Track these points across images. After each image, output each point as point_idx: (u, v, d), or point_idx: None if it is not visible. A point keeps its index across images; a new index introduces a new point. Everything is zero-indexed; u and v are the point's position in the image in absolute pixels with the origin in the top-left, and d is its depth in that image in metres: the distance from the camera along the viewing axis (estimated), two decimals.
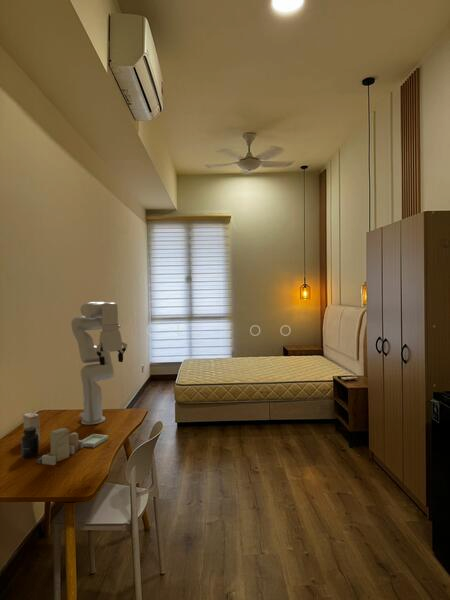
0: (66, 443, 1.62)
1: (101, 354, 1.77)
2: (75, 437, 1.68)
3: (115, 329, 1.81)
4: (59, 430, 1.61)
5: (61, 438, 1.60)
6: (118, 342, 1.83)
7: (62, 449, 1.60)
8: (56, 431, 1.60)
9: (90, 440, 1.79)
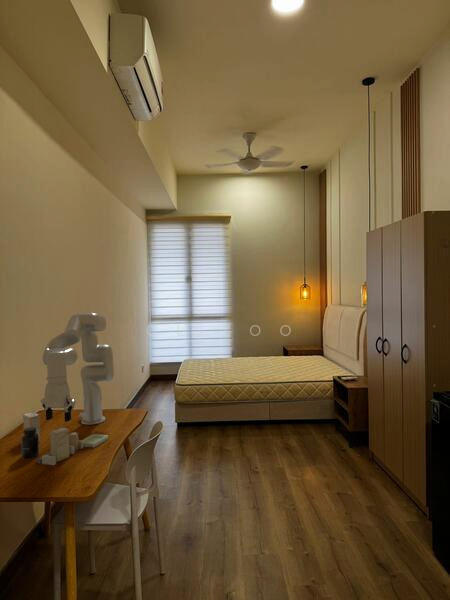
0: (66, 443, 1.62)
1: None
2: (75, 437, 1.68)
3: None
4: (59, 430, 1.61)
5: (61, 438, 1.60)
6: None
7: (62, 449, 1.60)
8: (56, 431, 1.60)
9: (90, 440, 1.79)
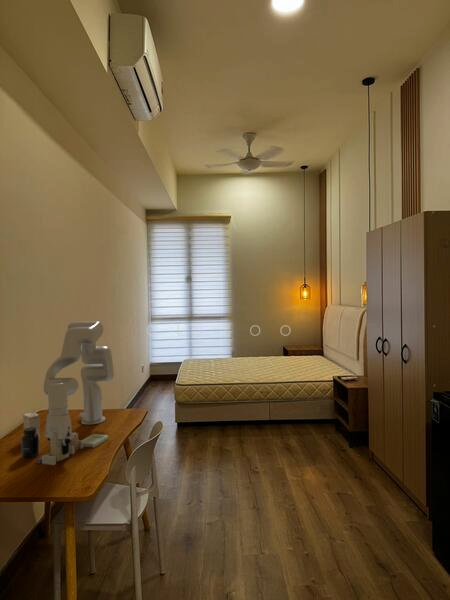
0: None
1: None
2: (75, 437, 1.68)
3: None
4: None
5: None
6: None
7: None
8: None
9: (90, 440, 1.79)
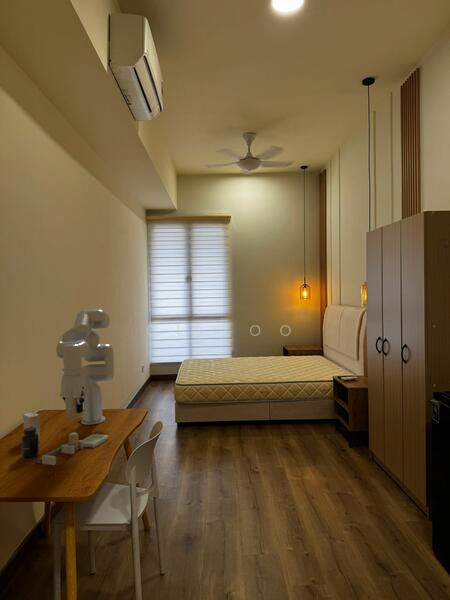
0: None
1: (83, 400, 1.69)
2: (75, 437, 1.68)
3: None
4: None
5: None
6: None
7: None
8: None
9: (90, 440, 1.79)
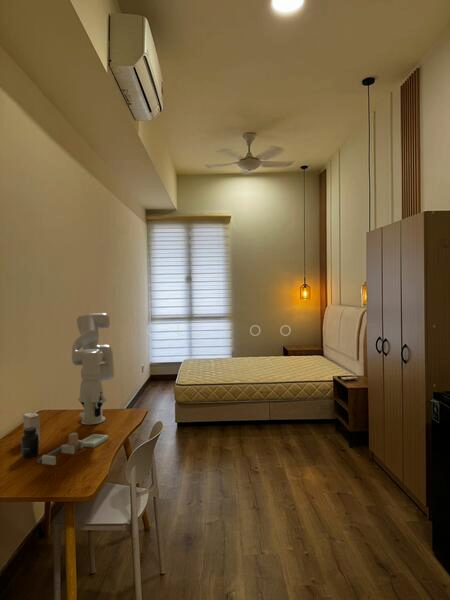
0: None
1: (101, 404, 1.78)
2: (75, 437, 1.68)
3: None
4: None
5: None
6: None
7: None
8: None
9: (90, 440, 1.79)
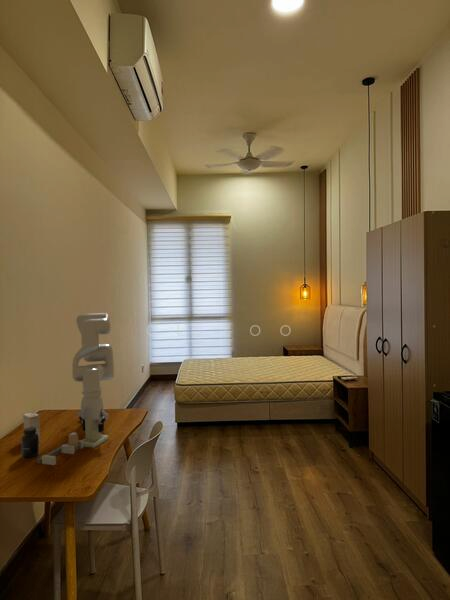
0: None
1: None
2: (75, 437, 1.68)
3: None
4: None
5: (95, 422, 1.77)
6: None
7: (96, 432, 1.77)
8: None
9: None
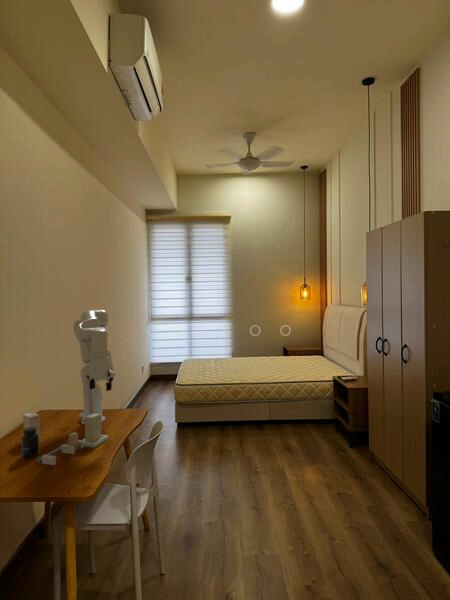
0: (99, 427, 1.79)
1: None
2: (75, 437, 1.68)
3: None
4: (92, 415, 1.78)
5: (95, 422, 1.77)
6: None
7: (96, 432, 1.77)
8: (90, 416, 1.77)
9: None
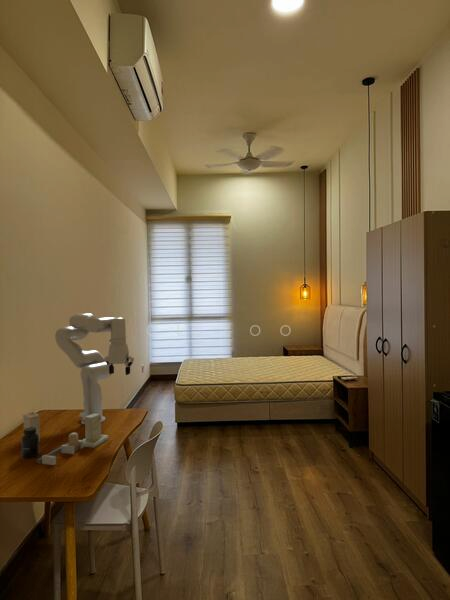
0: (99, 427, 1.79)
1: None
2: (75, 437, 1.68)
3: None
4: (92, 415, 1.78)
5: (95, 422, 1.77)
6: None
7: (96, 432, 1.77)
8: (90, 416, 1.77)
9: None
